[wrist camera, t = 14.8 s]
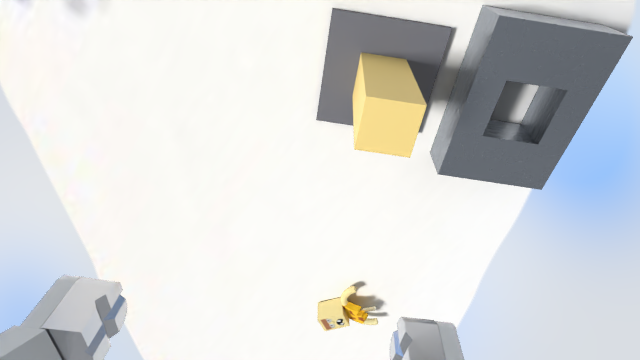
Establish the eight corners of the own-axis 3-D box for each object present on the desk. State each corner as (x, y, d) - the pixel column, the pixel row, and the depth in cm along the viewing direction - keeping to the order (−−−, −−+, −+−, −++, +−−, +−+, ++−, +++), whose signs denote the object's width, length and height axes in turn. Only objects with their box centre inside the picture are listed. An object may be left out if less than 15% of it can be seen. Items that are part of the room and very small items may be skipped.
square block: (361, 52, 32) (366, 96, 24) (406, 59, 32) (426, 105, 24) (352, 95, 34) (354, 149, 26) (394, 102, 34) (409, 157, 26)
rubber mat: (332, 8, 31) (332, 9, 30) (450, 27, 31) (452, 28, 31) (316, 117, 36) (316, 119, 36) (416, 132, 37) (417, 135, 36)
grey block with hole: (482, 5, 30) (499, 15, 27) (601, 24, 30) (633, 36, 27) (429, 152, 38) (437, 174, 35) (524, 166, 38) (541, 189, 35)
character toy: (383, 333, 51) (330, 342, 53) (381, 313, 53) (330, 322, 55) (365, 297, 47) (308, 309, 49) (364, 277, 49) (310, 289, 51)
